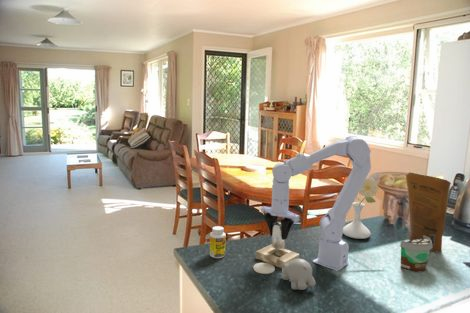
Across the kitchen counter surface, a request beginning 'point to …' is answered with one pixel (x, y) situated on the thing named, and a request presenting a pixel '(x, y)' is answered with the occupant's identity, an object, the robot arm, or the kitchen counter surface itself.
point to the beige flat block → (269, 256)
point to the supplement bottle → (217, 242)
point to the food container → (415, 254)
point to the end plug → (277, 236)
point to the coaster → (264, 268)
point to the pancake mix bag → (427, 207)
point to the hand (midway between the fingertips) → (278, 236)
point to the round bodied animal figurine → (298, 274)
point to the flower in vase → (356, 227)
